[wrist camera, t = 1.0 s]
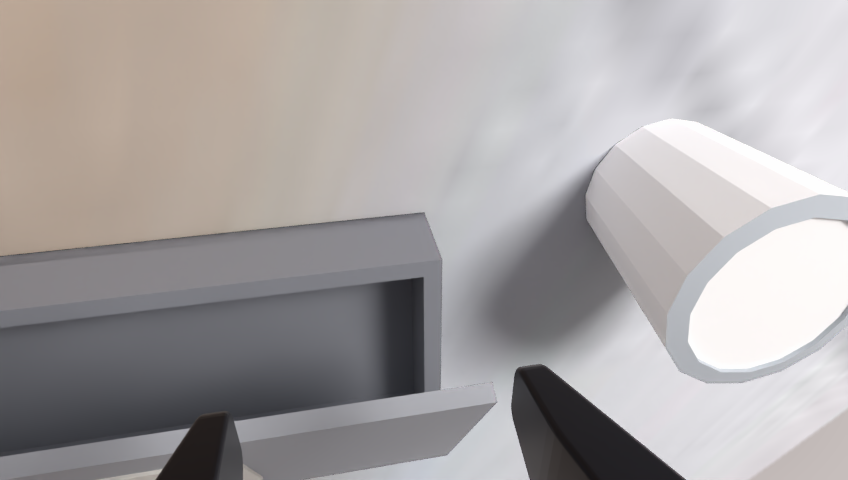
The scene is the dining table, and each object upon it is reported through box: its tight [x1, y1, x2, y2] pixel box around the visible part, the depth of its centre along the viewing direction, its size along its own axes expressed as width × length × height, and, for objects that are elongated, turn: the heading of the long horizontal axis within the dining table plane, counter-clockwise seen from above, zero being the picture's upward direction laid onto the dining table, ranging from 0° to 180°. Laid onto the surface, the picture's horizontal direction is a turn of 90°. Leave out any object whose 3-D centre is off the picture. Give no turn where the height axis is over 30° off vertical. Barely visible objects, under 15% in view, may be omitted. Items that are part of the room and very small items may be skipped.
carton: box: [0, 213, 442, 457], centre depth 21 cm, size 9×20×3 cm, turn 90°
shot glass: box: [585, 119, 848, 383], centre depth 20 cm, size 7×7×7 cm
